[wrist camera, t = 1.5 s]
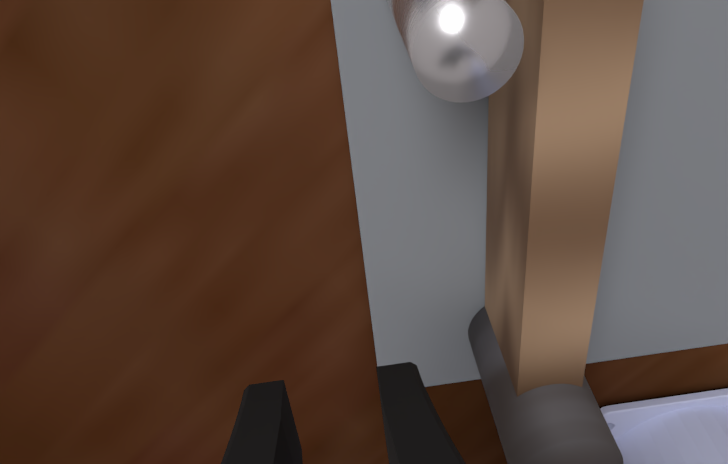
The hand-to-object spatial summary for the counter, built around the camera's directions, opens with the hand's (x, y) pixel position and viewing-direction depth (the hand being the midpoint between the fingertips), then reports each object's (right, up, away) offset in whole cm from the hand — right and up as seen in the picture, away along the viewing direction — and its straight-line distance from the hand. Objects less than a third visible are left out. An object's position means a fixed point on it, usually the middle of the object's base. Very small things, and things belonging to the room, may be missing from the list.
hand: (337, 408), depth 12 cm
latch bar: (+5, +5, +8) cm, 11 cm away
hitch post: (+2, +10, +5) cm, 11 cm away
